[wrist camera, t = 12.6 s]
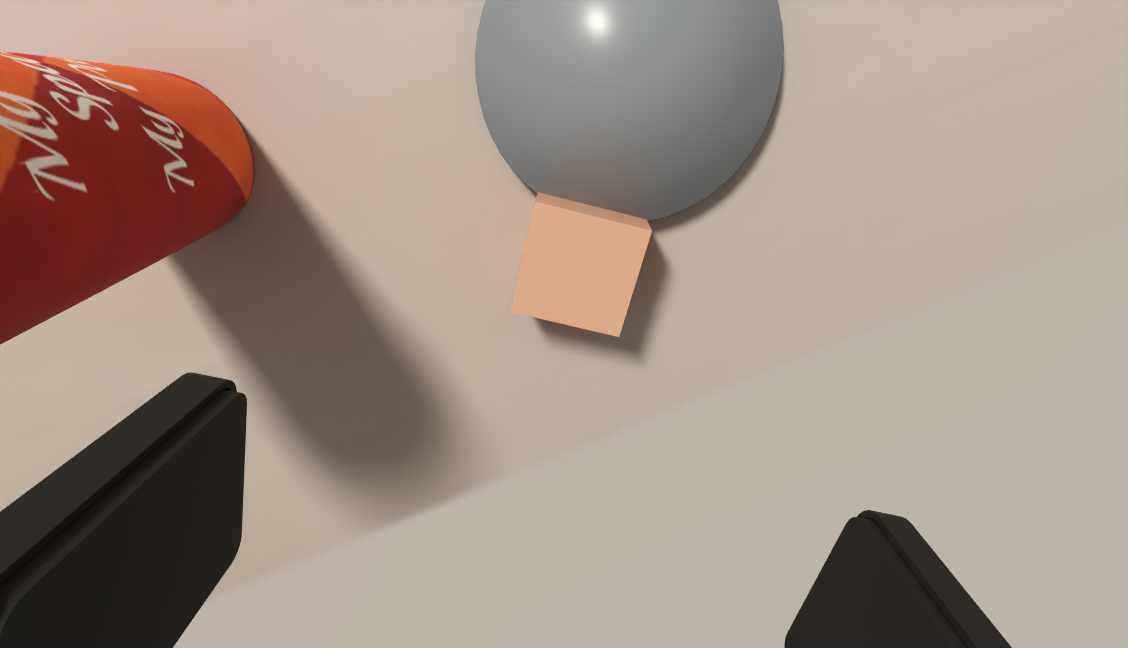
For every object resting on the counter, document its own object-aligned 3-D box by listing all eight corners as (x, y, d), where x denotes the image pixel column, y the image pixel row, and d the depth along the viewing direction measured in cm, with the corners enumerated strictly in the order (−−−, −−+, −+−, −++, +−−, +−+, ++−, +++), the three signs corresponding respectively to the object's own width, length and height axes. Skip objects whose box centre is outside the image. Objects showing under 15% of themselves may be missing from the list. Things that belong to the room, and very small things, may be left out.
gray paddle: (512, -148, 17) (501, -184, 15) (824, -56, 18) (861, -77, 16) (442, 270, 22) (426, 292, 20) (686, 328, 23) (698, 355, 21)
